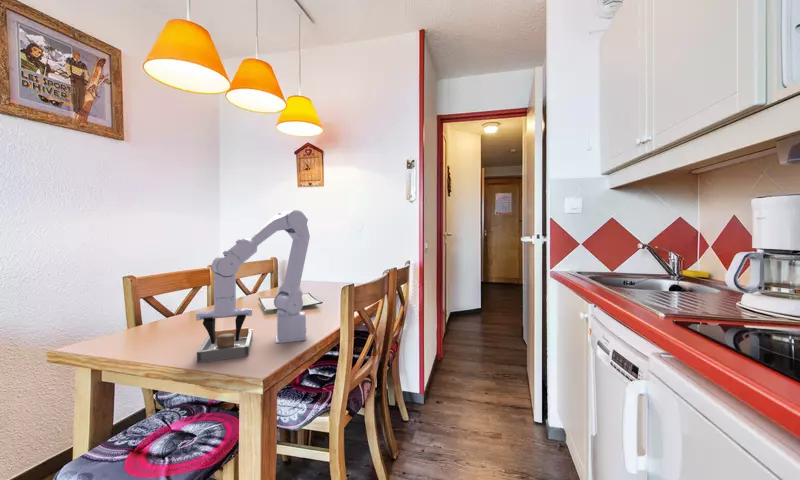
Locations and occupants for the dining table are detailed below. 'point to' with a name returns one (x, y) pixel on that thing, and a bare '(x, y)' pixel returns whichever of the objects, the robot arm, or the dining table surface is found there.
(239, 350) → the housing
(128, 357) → the dining table surface
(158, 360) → the dining table surface
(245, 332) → the gate
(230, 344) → the brown rounded block
